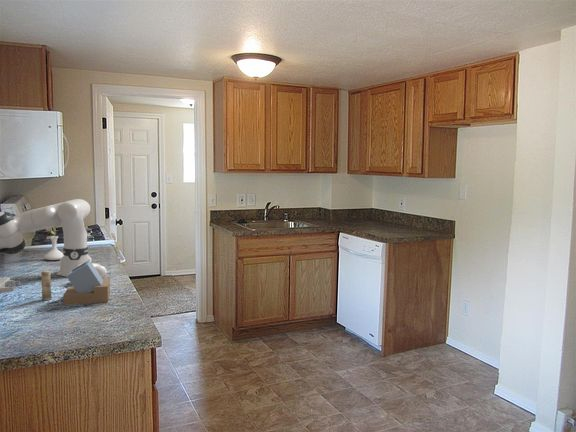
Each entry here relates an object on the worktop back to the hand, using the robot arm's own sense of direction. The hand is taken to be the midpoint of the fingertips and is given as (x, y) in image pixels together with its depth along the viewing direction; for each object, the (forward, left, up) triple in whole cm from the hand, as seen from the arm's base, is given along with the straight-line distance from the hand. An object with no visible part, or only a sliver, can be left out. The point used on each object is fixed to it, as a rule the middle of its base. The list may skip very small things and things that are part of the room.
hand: (17, 286), depth 196 cm
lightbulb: (-13, +31, -7) cm, 34 cm away
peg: (0, +11, -6) cm, 13 cm away
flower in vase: (-87, 0, -7) cm, 87 cm away
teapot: (-28, +25, -7) cm, 38 cm away
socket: (+3, +27, -6) cm, 28 cm away
